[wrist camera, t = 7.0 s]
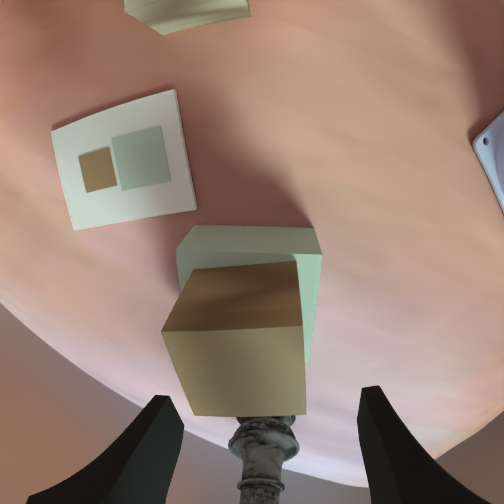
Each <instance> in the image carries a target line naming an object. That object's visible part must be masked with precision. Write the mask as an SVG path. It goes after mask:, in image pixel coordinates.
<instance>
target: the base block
mask: <svg viewBox="0 0 504 504" xmlns="http://www.w3.org/2000/svg"><path fill="white" fill-rule="evenodd" d="M175 253H176V262H177V271H178V279H179V288H180V294H181V292H182V290H183V288H184V286H185V284H186V283H187V281H188V279H189V277H190V275H191V273H192V271H193V269H203V268H216V267H228V266H240V265H252V264H264V263H276V262H287V261H297V269H298V279H299V288H300V298H301V308H302V319H303V333H304V355H305V364H307V365H308V364H309V357H310V350H311V344H312V337H313V329H314V322H315V314H316V307H317V298H318V290H319V281H320V272H321V262H322V252H321V249H320V246H319V242H318V239H317V236H316V232H315V229H314V228H301V227H270V226H229V225H194V226H193V227H192V228H191V230H190V231H189V232H188V234H187V235H186V236H185V238H184V239H183V240H182V242H181V243H180V244H179V246H178V247H177V248H176V250H175Z"/></svg>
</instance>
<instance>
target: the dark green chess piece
mask: <svg viewBox="0 0 504 504" xmlns="http://www.w3.org/2000/svg"><path fill="white" fill-rule="evenodd" d="M237 420H238V422H239V423H240V424H241V425H240V427H239V428H238V429H237V431H236V432H235V433H234V436H233V437H232V438H231V439H230V440H229V444H228V447H229V450H230V451H231V453H232V454H233V455H235V456H236V457H238V458H240V459H242V460H243V473H242V480H241V481H240V482H239V483H238V484H237V488H238V489H239V490H240V491H241V497H240V504H279V493H280V492H282V491H283V490H284V489H285V486H284V484H283V483H281V468H282V464H283V462H284V461H287V460H289V459H292V458H293V457H294V456H296V455H297V453H298V452H299V443H298V442H297V440H295V436H294V434H293V432H292V430H291V428H290V426H291V425H293V424H294V422H295V415H289V416H265V417H237Z"/></svg>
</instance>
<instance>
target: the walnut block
mask: <svg viewBox="0 0 504 504" xmlns="http://www.w3.org/2000/svg"><path fill="white" fill-rule="evenodd" d="M161 333H162V336H163V339H164V341H165V344H166V347H167V350H168V352H169V355H170V357H171V360H172V363H173V365H174V368H175V370H176V373H177V375H178V378H179V380H180V383H181V385H182V388H183V390H184V392H185V395H186V397H187V400H188V402H189V404H190V407H191V409H192V411H193V413H194V415H195V416H219V417H265V416H289V415H304V414H306V382H305V355H304V333H303V319H302V308H301V298H300V288H299V279H298V269H297V261H287V262H276V263H264V264H252V265H240V266H228V267H216V268H203V269H193V271H192V273H191V275H190V277H189V279H188V281H187V283H186V284H185V286H184V288H183V290H182V292H181V294H180V296H179V298H178V300H177V301H176V303H175V305H174V307H173V309H172V311H171V313H170V315H169V317H168V319H167V321H166V323H165V325H164V327H163V328H162V330H161Z"/></svg>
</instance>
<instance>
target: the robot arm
mask: <svg viewBox="0 0 504 504" xmlns="http://www.w3.org/2000/svg"><path fill="white" fill-rule="evenodd" d="M484 138H485V140H486V141H485V144H484V143H483V139H484ZM473 148H474V151H475V152H476V154H477V156H478V158H479V160H480V162H481V164H482V166H483V168H484V170H485V172H486V174H487V176H488V179H489V181H490V183H491V185H492V187H493V190H494V192H495V194H496V197H497V199H498V201H499V204H500V206H501V209H502V211H503V214H504V111H503V112H502V113H501V114H500V115H499V116H498V117H497V118H496V119H495V120H494V121H493V122H492V123H490V124H489V125H488V126H487V127H486V128H485V129H484V130H483V131H482V132H481V133H480V134H479V135H478V136H477V137H476V138H475V139H474V140H473ZM357 424H358V433H359V442H360V447H361V451H362V456H363V460H364V465H365V469H366V474H367V479H368V483H369V488H370V494H371V504H491V503H489V502H488V501H486V500H484V499H483V498H481V497H479V496H478V495H476V494H475V493H473V492H471V491H470V490H469V489H467V488H466V487H465V486H464V485H462V484H461V483H460V482H458V481H457V480H456V479H455V478H453V477H452V476H451V475H450V474H449V473H447V472H446V471H445V470H444V469H443V468H442V467H441V466H440V465H439V464H438V463H437V462H436V461H435V460H434V459H433V458H432V457H431V456H430V455H429V454H428V453H427V452H426V451H425V449H424V448H423V447H422V446H421V445H420V444H419V442H418V441H417V440H416V439H415V438H414V436H413V435H412V434H411V433H410V431H409V430H408V429H407V427H406V426H405V424H404V423H403V422H402V420H401V419H400V418H399V416H398V415H397V413H396V412H395V410H394V409H393V407H392V406H391V404H390V402H389V401H388V399H387V398H386V396H385V394H384V393H383V391H382V389H381V387H380V386H378V385H377V386H371V387H365V388H362V391H361V398H360V404H359V410H358V416H357ZM183 431H184V424H183V422H182V420H181V418H180V416H179V414H178V412H177V410H176V408H175V406H174V404H173V402H172V400H171V398H170V396H164V395H155V396H154V397H153V398H152V399H151V401H150V402H149V403H148V404H147V405H146V406H145V408H144V409H143V410H142V411H141V412H140V413H139V415H138V416H137V417H136V418H135V419H134V421H133V422H132V423H131V424H130V425H129V426H128V427H127V428H126V429H125V431H124V432H123V433H122V434H121V435H120V436H119V437H118V438H117V439H116V440H115V441H114V442H113V443H112V444H111V445H110V446H109V447H108V448H107V449H106V450H105V451H104V452H103V453H102V454H101V455H99V456H98V457H97V458H96V459H95V460H93V461H92V462H91V463H90V464H88V465H87V466H86V467H84V468H83V469H82V470H80V471H79V472H77V473H75V474H74V475H72V476H71V477H70V478H68V479H66V480H64V481H62V482H60V483H59V484H57V485H55V486H53V487H51V488H49V489H46V490H44V491H41V492H39V493H36V494H34V495H31V496H29V498H28V500H27V502H26V504H165V502H166V497H167V493H168V489H169V486H170V482H171V479H172V475H173V473H174V469H175V466H176V463H177V459H178V456H179V453H180V449H181V444H182V438H183Z"/></svg>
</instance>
